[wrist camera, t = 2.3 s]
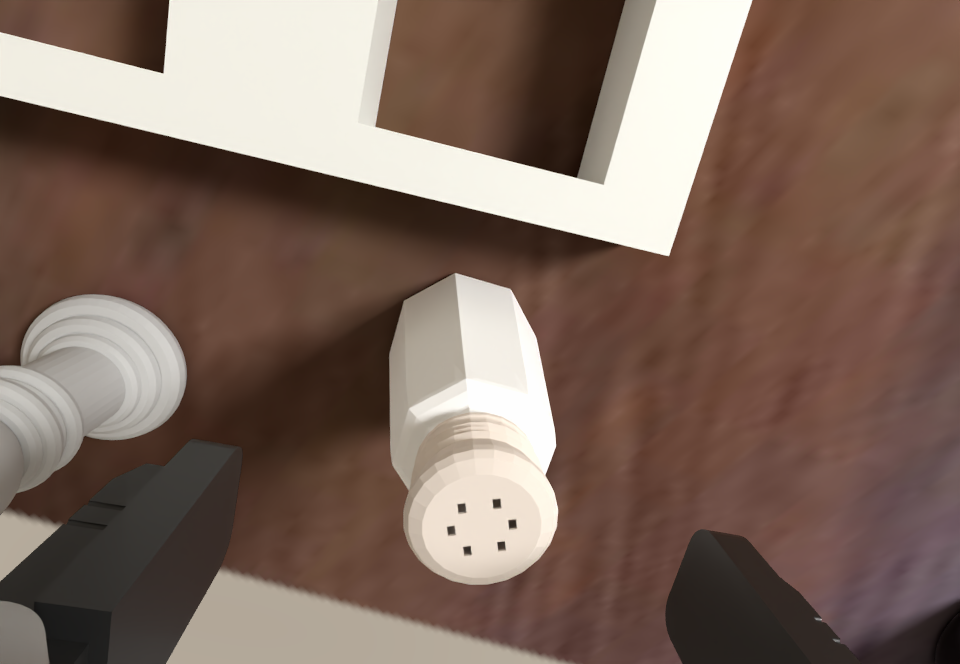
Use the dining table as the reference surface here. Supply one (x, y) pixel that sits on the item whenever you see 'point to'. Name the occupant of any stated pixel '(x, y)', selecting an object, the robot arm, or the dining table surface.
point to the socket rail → (397, 157)
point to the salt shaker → (471, 432)
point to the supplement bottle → (949, 643)
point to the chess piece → (84, 385)
